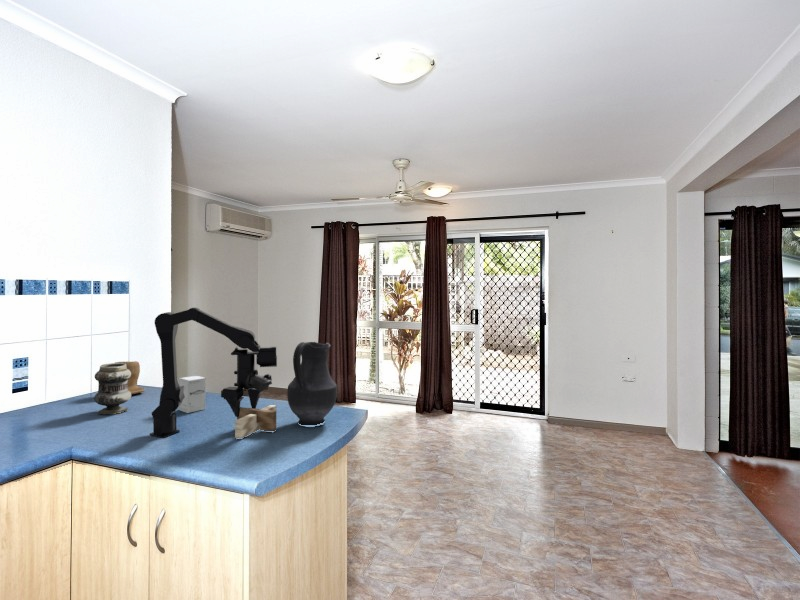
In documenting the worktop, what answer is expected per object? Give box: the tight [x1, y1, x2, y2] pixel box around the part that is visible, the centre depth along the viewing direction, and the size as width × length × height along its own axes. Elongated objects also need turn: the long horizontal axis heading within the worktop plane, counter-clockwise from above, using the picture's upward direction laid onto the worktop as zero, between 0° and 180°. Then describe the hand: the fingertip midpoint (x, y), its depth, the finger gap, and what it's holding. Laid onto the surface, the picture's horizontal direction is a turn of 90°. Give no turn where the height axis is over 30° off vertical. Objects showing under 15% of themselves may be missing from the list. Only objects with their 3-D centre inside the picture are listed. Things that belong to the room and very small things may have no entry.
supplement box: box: [178, 375, 207, 414], centre depth 177 cm, size 7×7×13 cm
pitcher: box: [286, 341, 338, 425], centre depth 160 cm, size 17×21×30 cm
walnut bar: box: [236, 406, 277, 431], centre depth 154 cm, size 14×2×7 cm, turn 73°
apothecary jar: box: [93, 362, 132, 415], centre depth 173 cm, size 12×12×18 cm
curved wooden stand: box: [114, 360, 146, 396], centre depth 199 cm, size 15×12×15 cm
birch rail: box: [234, 404, 277, 439], centre depth 154 cm, size 20×2×6 cm, turn 163°
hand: (245, 413), depth 155 cm, fingers open, 9 cm apart
